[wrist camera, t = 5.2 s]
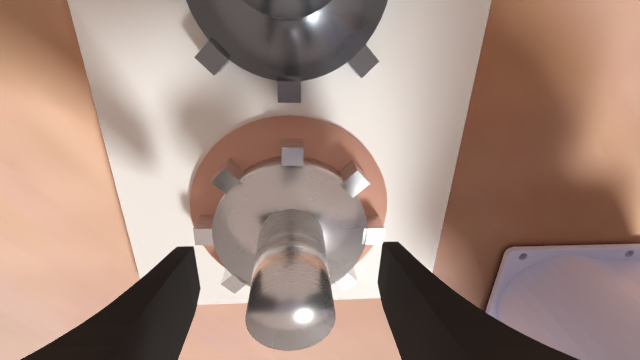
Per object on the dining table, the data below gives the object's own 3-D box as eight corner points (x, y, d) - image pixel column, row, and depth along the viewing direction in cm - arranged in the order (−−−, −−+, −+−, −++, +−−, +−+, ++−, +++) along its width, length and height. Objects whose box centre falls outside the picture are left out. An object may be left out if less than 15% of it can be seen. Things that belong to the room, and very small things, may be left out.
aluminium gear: (389, 140, 15) (444, 206, 10) (368, 289, 19) (399, 396, 13) (190, 135, 14) (127, 204, 9) (209, 291, 18) (173, 407, 13)
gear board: (506, -170, 12) (538, -198, 11) (418, 278, 21) (428, 298, 19) (40, -207, 11) (-1, -245, 9) (157, 287, 20) (145, 309, 18)
